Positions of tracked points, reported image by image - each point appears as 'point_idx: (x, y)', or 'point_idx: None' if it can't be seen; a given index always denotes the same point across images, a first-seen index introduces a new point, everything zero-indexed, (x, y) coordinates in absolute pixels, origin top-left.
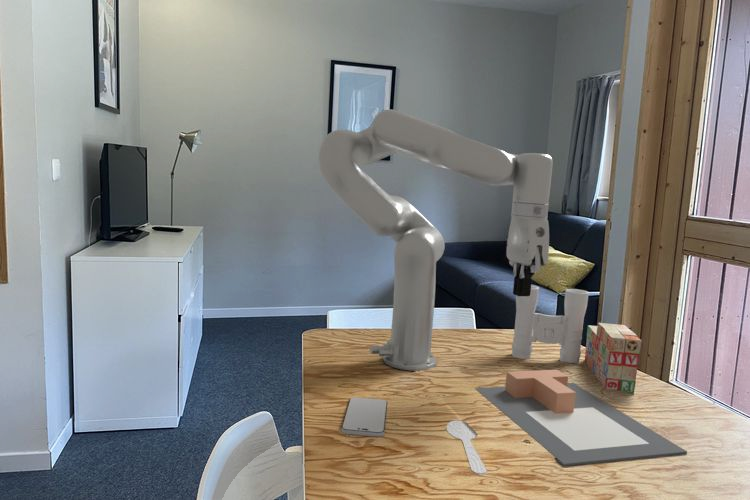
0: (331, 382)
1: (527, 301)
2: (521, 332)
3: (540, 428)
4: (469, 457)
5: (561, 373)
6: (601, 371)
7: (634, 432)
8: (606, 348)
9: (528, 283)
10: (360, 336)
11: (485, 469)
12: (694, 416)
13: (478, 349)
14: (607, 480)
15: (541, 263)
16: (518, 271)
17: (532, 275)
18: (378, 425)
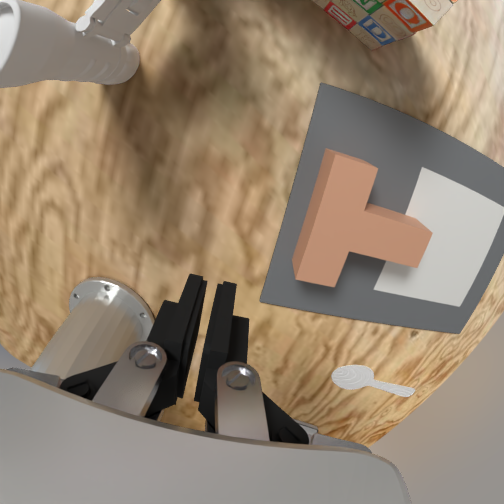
0: (176, 417)
1: (44, 61)
2: (97, 73)
3: (413, 305)
4: (393, 391)
5: (359, 167)
6: (345, 13)
7: (489, 195)
8: (387, 11)
9: (244, 358)
10: (7, 308)
11: (412, 389)
12: (491, 40)
13: (59, 141)
14: (490, 312)
15: (304, 456)
16: (152, 412)
17: (272, 404)
18: (304, 429)
